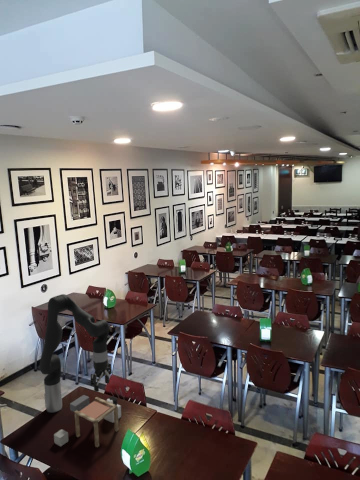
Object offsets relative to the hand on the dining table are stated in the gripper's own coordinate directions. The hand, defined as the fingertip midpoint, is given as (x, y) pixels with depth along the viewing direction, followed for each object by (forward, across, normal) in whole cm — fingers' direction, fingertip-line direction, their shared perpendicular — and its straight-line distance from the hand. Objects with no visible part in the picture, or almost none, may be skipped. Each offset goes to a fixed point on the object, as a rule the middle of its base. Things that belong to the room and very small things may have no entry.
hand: (101, 387), depth 191 cm
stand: (+28, +1, -4) cm, 28 cm away
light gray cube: (+28, +14, -17) cm, 36 cm away
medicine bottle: (+28, -13, -5) cm, 31 cm away
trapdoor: (+17, 0, -9) cm, 19 cm away
